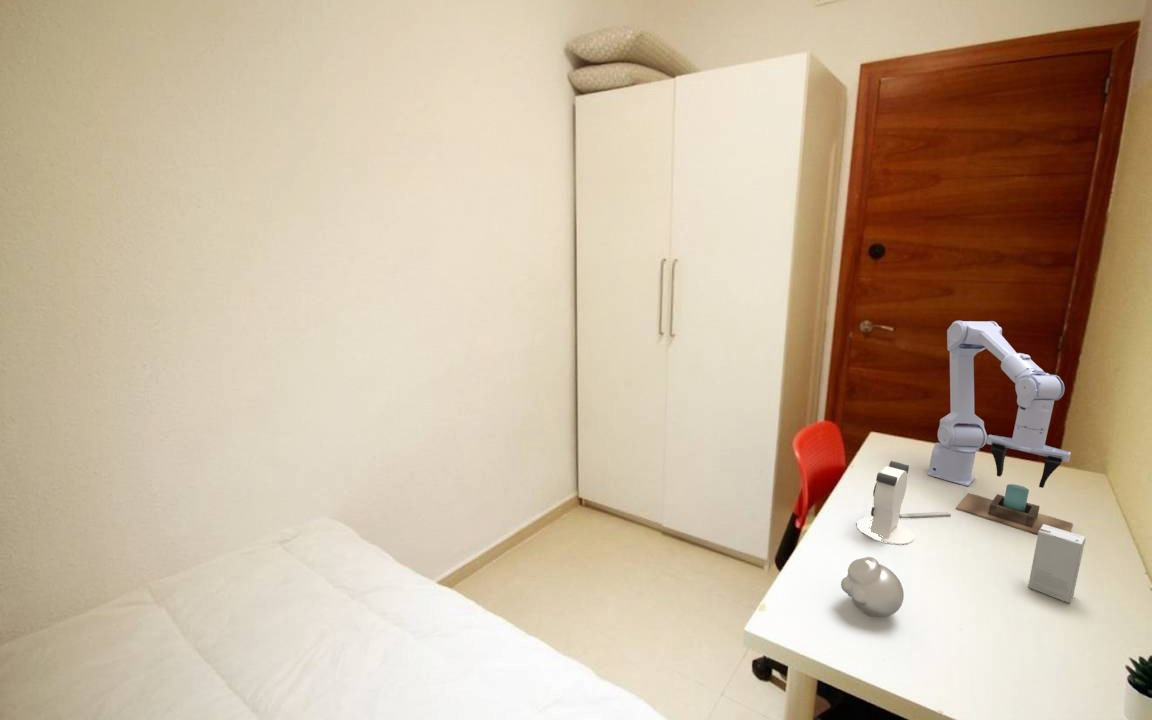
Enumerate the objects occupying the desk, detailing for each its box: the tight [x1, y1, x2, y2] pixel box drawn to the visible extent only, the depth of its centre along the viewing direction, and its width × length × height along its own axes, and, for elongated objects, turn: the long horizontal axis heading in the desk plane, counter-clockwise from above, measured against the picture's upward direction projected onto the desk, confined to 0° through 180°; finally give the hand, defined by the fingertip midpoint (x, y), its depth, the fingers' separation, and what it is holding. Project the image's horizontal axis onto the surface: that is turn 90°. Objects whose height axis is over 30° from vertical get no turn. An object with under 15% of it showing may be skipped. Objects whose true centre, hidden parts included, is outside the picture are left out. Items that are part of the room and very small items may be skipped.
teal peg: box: [1003, 483, 1029, 513], centre depth 122 cm, size 4×4×7 cm
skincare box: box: [1027, 524, 1086, 604], centre depth 94 cm, size 6×4×12 cm
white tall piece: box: [869, 460, 915, 545], centre depth 115 cm, size 12×11×15 cm
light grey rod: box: [899, 511, 952, 519], centre depth 122 cm, size 12×1×1 cm, turn 95°
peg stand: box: [955, 492, 1073, 536], centre depth 122 cm, size 20×12×3 cm, turn 41°
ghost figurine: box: [840, 556, 905, 618], centre depth 89 cm, size 9×10×10 cm
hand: (1019, 480), depth 120 cm, fingers open, 7 cm apart
